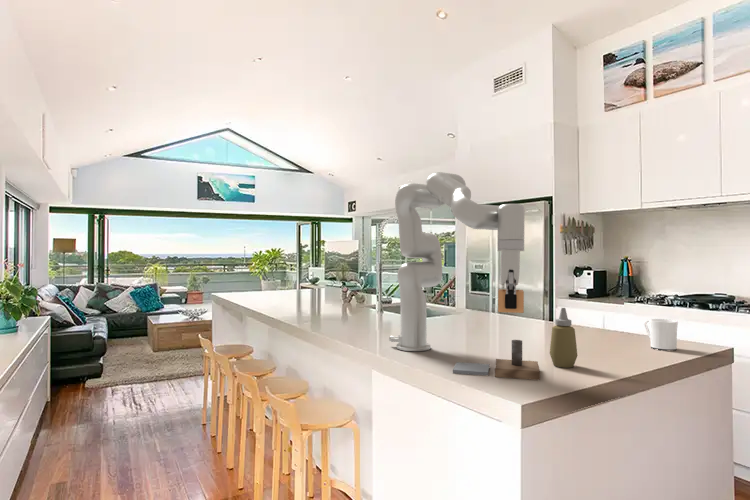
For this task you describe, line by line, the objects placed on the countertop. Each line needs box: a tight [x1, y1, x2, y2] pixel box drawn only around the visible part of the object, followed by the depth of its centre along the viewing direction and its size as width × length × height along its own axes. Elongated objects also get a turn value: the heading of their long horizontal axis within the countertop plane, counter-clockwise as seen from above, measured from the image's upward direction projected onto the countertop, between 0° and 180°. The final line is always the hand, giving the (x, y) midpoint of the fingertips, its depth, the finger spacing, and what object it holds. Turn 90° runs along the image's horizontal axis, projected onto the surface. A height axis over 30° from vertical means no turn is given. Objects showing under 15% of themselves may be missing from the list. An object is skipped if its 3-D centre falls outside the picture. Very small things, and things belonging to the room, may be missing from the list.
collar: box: [497, 288, 525, 314], centre depth 140 cm, size 7×7×6 cm
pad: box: [452, 361, 491, 376], centre depth 143 cm, size 10×10×1 cm
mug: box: [643, 318, 679, 351], centre depth 175 cm, size 11×9×10 cm
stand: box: [494, 339, 541, 381], centre depth 140 cm, size 12×12×10 cm
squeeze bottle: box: [549, 307, 578, 369], centre depth 148 cm, size 8×8×18 cm
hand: (510, 306), depth 140 cm, fingers closed on collar, 7 cm apart
